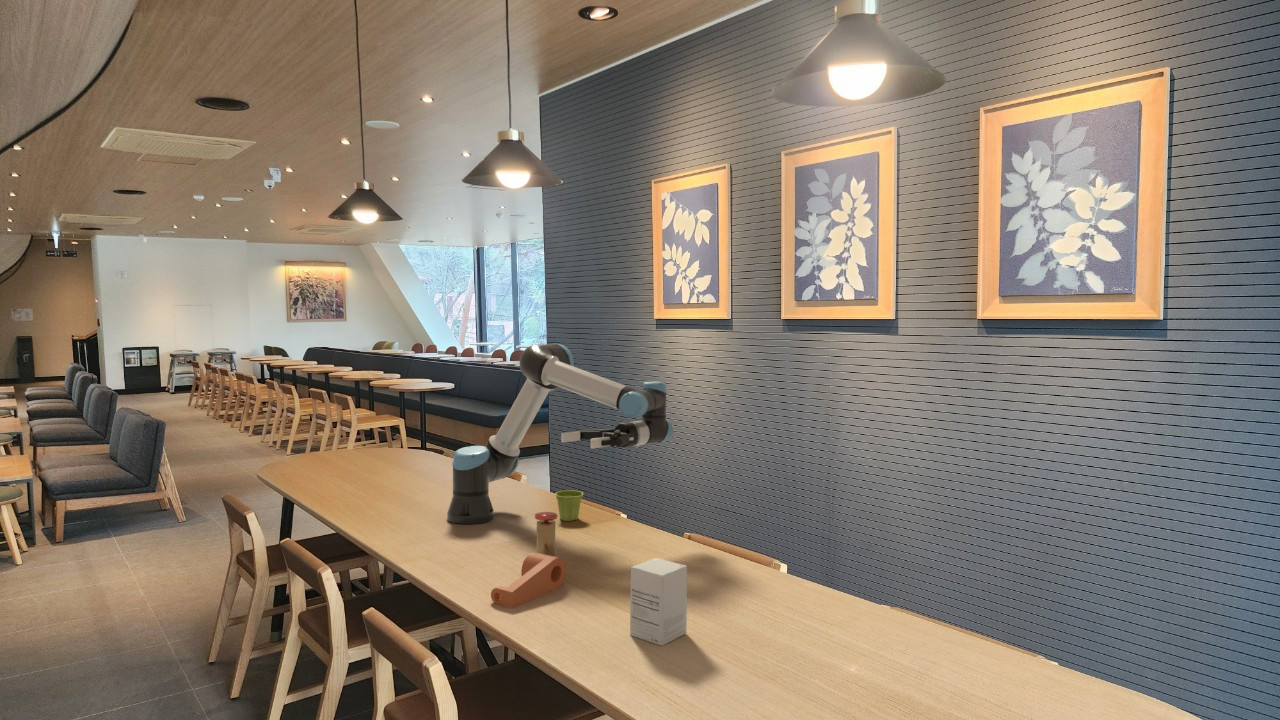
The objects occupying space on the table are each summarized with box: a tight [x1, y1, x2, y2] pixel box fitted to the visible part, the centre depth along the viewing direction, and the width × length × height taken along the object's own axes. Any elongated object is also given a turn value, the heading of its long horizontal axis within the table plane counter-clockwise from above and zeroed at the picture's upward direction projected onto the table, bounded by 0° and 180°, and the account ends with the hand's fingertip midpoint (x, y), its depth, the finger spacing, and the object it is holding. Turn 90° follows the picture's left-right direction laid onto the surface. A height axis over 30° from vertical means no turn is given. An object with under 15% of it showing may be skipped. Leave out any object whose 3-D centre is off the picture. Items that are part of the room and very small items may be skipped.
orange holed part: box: [490, 551, 567, 609], centre depth 191 cm, size 20×8×8 cm, turn 147°
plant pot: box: [554, 489, 584, 522], centre depth 261 cm, size 9×9×9 cm
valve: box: [534, 511, 558, 557], centre depth 212 cm, size 6×6×14 cm
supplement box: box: [629, 557, 688, 647], centre depth 167 cm, size 9×9×15 cm
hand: (576, 440), depth 225 cm, fingers open, 13 cm apart
